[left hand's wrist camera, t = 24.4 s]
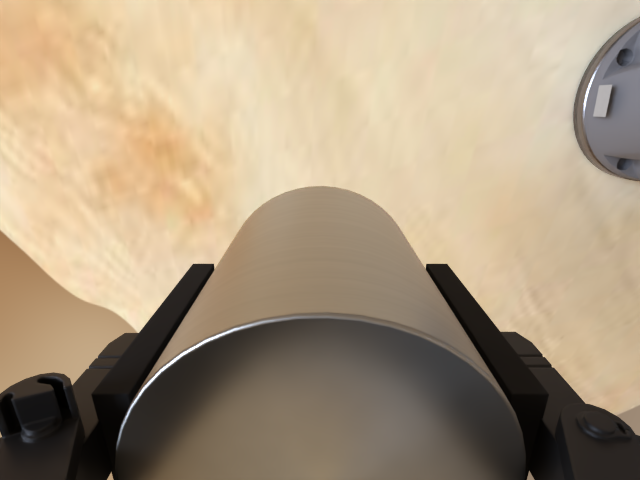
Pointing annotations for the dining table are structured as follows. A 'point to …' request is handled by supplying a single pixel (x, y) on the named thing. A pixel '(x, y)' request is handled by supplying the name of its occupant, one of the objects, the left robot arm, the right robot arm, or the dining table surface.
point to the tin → (320, 363)
